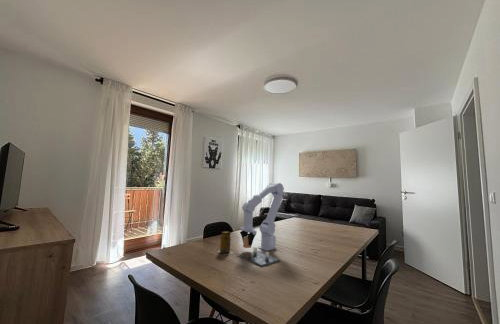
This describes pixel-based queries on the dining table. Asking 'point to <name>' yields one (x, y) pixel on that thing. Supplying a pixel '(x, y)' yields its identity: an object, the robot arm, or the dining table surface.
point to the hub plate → (260, 258)
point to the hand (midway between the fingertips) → (247, 244)
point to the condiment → (225, 243)
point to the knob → (246, 242)
